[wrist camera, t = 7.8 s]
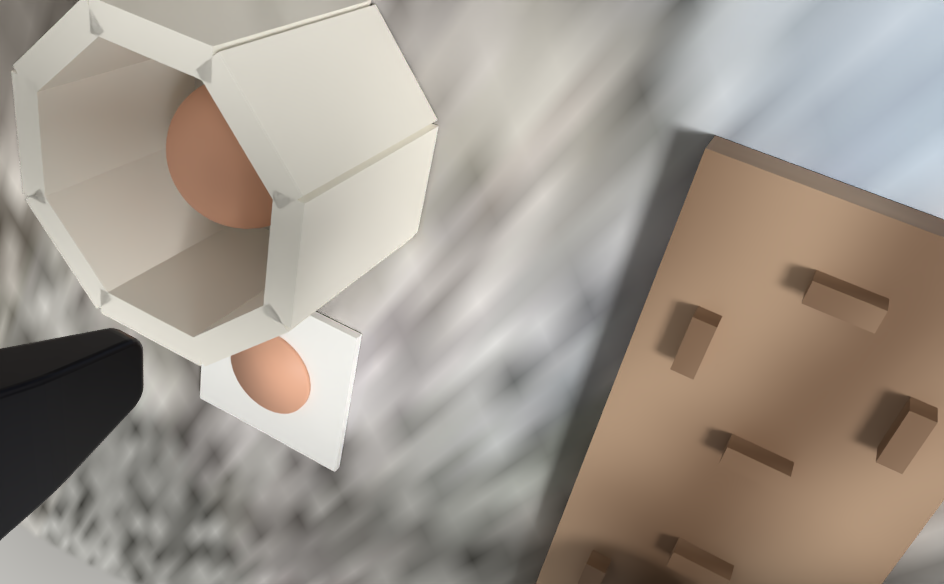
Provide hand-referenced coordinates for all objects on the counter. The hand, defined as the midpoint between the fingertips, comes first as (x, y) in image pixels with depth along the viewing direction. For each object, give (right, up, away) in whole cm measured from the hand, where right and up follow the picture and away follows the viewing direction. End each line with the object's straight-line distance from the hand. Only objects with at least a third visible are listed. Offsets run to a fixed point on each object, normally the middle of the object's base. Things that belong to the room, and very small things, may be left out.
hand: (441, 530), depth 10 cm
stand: (+8, -3, +14) cm, 16 cm away
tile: (-6, 0, +20) cm, 21 cm away
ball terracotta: (-6, +6, +13) cm, 15 cm away
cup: (-5, +7, +15) cm, 17 cm away
